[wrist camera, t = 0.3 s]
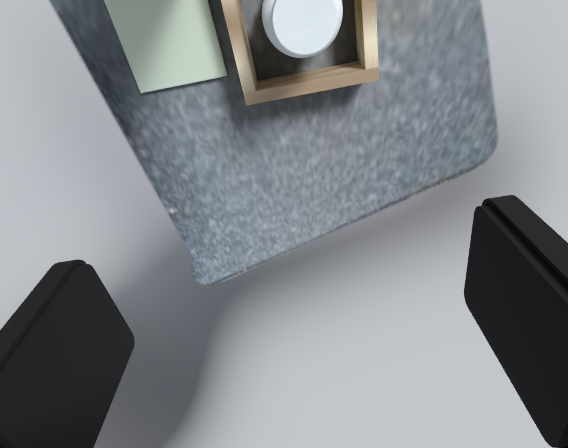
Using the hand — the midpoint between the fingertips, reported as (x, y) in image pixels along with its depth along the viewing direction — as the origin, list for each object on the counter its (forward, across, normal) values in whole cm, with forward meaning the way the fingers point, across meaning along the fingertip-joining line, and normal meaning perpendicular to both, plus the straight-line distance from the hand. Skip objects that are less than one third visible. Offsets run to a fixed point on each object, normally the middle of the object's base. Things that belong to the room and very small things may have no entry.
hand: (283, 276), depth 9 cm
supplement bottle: (+28, -2, -4) cm, 28 cm away
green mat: (+28, +9, -4) cm, 29 cm away
